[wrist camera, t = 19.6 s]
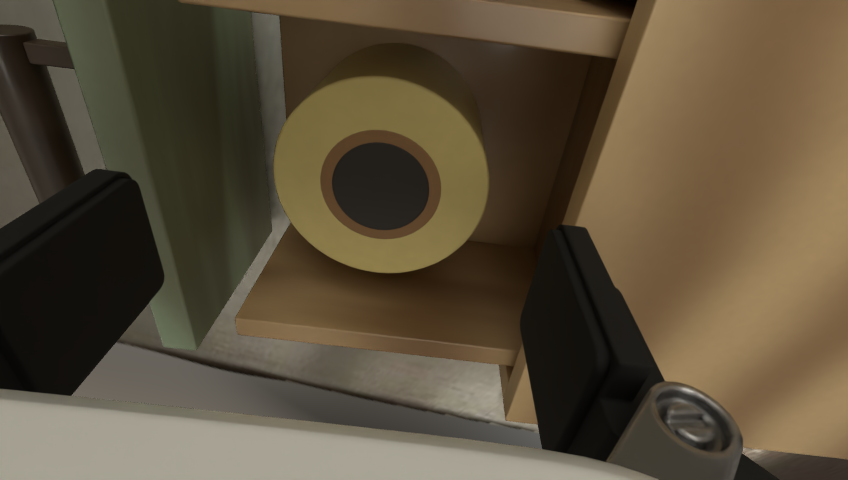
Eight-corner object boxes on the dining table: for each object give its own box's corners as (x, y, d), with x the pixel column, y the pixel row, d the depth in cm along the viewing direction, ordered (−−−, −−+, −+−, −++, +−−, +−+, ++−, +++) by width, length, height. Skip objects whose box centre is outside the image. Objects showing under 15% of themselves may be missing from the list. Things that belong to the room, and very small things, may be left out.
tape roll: (299, 172, 19) (255, 236, 15) (339, 11, 15) (297, 34, 11) (441, 223, 20) (439, 298, 16) (510, 84, 16) (530, 132, 12)
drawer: (149, 216, 22) (19, 331, 15) (60, -103, 15) (-251, -144, 8) (537, 262, 22) (574, 395, 16) (629, -27, 15) (766, -9, 9)
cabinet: (485, 255, 23) (504, 421, 15) (559, -57, 16) (678, -64, 7) (777, 290, 24) (949, 471, 15) (988, 1, 16) (1556, 55, 8)
